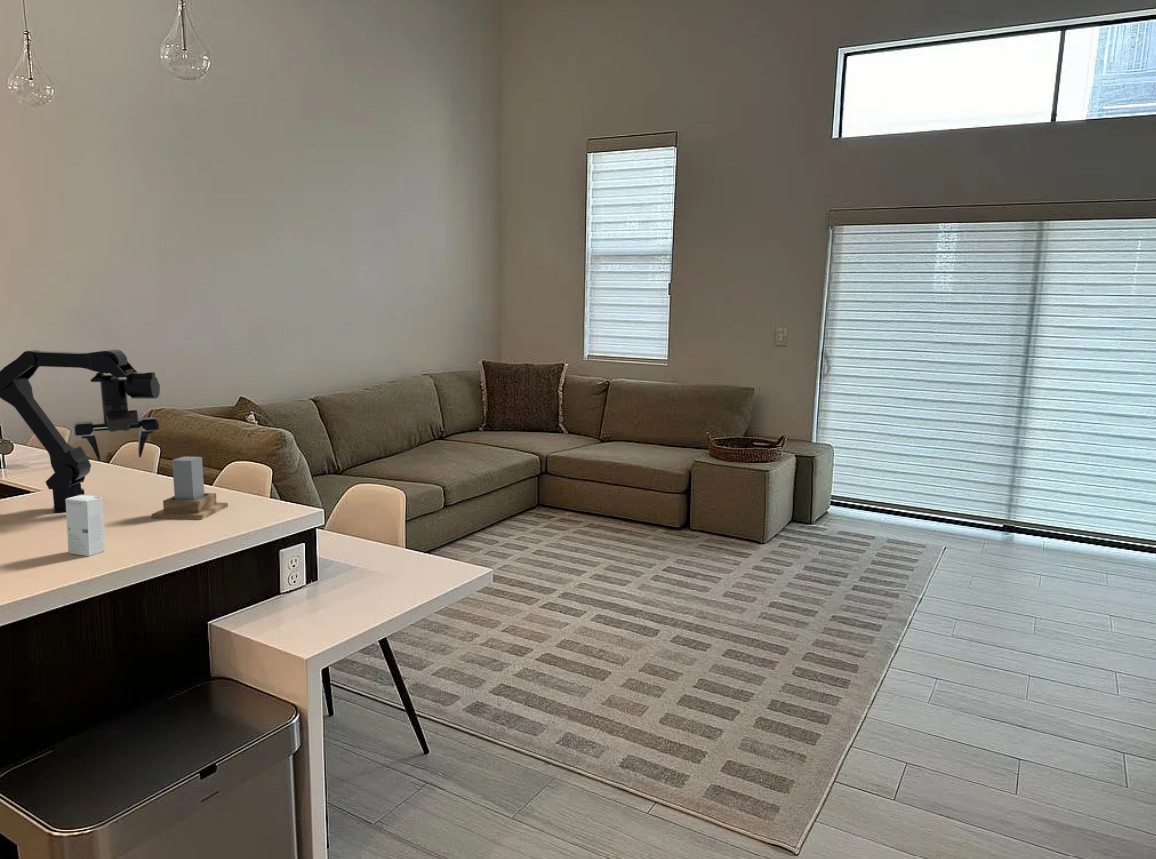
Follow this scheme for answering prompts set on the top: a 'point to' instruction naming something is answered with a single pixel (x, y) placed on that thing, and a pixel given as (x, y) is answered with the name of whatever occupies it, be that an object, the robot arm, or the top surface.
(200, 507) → the walnut socket
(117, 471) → the top surface
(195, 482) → the grey rectangular block
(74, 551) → the skincare box
